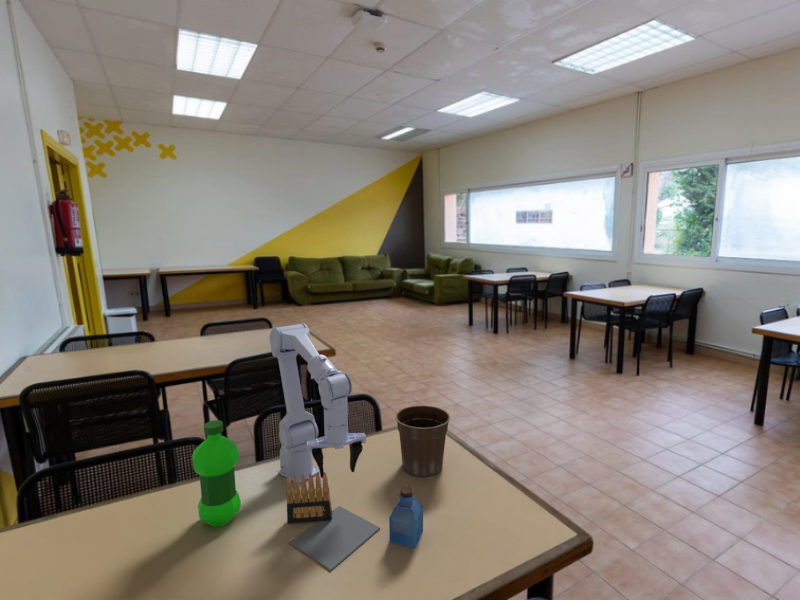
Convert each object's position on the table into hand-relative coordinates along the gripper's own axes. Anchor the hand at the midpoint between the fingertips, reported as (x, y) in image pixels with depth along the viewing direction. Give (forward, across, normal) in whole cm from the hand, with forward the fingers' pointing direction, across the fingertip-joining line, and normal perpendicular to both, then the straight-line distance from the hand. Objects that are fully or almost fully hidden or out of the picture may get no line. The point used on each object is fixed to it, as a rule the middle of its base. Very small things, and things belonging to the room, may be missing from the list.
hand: (337, 472), depth 108 cm
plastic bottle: (+10, -28, +5) cm, 31 cm away
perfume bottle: (+10, +13, -15) cm, 22 cm away
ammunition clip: (+10, -7, -2) cm, 13 cm away
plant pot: (+10, +28, +12) cm, 32 cm away
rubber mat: (+10, -2, -10) cm, 14 cm away
